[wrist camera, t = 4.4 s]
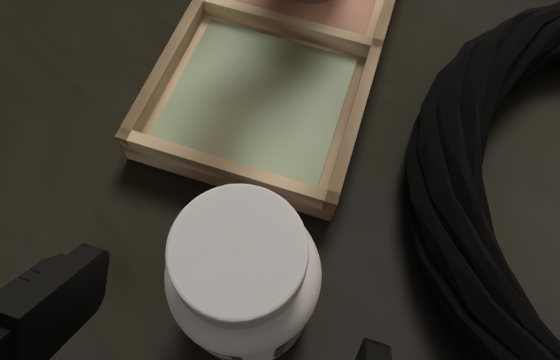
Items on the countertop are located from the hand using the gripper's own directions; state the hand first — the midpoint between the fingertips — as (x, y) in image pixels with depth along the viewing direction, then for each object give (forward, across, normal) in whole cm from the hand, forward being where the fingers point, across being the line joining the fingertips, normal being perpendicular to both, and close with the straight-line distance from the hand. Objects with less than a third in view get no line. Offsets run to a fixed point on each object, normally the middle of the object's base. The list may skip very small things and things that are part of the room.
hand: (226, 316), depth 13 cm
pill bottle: (+6, 0, +4) cm, 7 cm away
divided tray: (+17, +3, -7) cm, 18 cm away
